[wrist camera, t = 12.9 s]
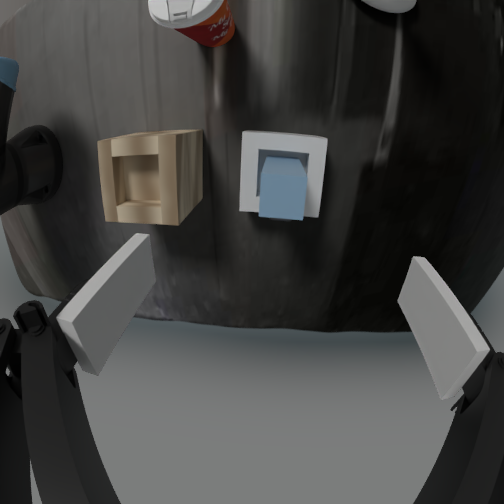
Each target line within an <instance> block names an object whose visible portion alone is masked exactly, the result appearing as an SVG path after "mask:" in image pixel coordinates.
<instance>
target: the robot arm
mask: <svg viewBox="0 0 504 504" xmlns="http://www.w3.org/2000/svg"><path fill="white" fill-rule="evenodd" d="M18 72H19V65H18V63H17V62H16V61H15V60H13V59H10V58H5V57H0V215H2V214H3V213H5V212H7V211H8V210H10V209H12V208H14V207H15V206H17V205H29V204H39V203H42V202H44V201H46V200H47V199H49V198H51V197H52V196H53V195H54V194H55V192H56V191H57V189H58V187H59V184H60V181H61V176H62V155H61V150H60V146H59V143H58V141H57V139H56V137H55V135H54V134H53V133H52V131H51V130H50V129H48V128H47V127H45V126H42V125H36V126H31V127H28V128H25V129H24V130H22V131H21V132H19V133H18V134H17V135H15V136H14V137H12V138H11V139H10V140H8V141H7V142H6V140H7V131H8V124H9V118H10V112H11V107H12V102H13V97H14V92H16V87H15V86H16V81H17V77H18ZM155 282H156V278H155V272H154V265H153V258H152V251H151V243H150V235H149V234H139V233H136V234H135V235H134V236H133V237H132V238H131V239H130V240H129V241H128V242H126V243H125V244H124V245H123V246H122V247H121V248H120V249H119V250H118V251H117V252H116V253H115V254H114V255H113V256H112V257H111V258H110V259H109V260H108V261H107V262H106V263H105V264H104V265H103V266H102V267H101V268H100V269H99V270H98V271H97V273H96V274H95V275H94V276H93V277H92V278H91V279H90V280H85V281H84V282H82V283H80V284H79V285H77V286H76V287H75V288H74V289H73V290H72V292H71V294H69V295H68V296H67V297H66V298H65V300H63V301H62V302H61V304H60V305H59V306H58V307H57V308H56V309H55V310H54V311H53V313H52V314H51V315H50V316H49V317H47V314H46V312H45V310H44V307H43V305H42V303H40V302H39V301H35V300H34V301H28V302H26V303H24V304H22V305H21V306H19V307H18V308H17V310H16V311H15V313H14V315H13V317H14V319H15V321H16V322H17V325H18V327H19V329H14V327H13V326H12V324H11V322H10V320H8V319H5V318H3V319H0V504H32V495H31V480H30V460H31V464H32V469H33V473H34V477H35V481H36V484H37V487H38V491H39V495H40V498H41V501H42V504H121V503H120V501H119V499H118V497H117V495H116V493H115V491H114V489H113V486H112V484H111V482H110V480H109V477H108V475H107V473H106V470H105V468H104V465H103V463H102V460H101V458H100V455H99V452H98V450H97V447H96V444H95V441H94V438H93V435H92V432H91V429H90V425H89V422H88V419H87V415H86V412H85V408H84V404H83V400H82V396H81V392H80V388H79V383H78V379H77V374H76V371H75V369H74V365H75V364H76V362H77V361H78V363H79V365H80V366H81V368H82V370H83V371H85V372H88V373H91V374H94V375H97V376H98V375H99V373H100V372H101V370H102V368H103V366H104V364H105V363H106V361H107V359H108V357H109V356H110V354H111V352H112V351H113V349H114V347H115V346H116V344H117V342H118V341H119V339H120V337H121V336H122V334H123V332H124V331H125V329H126V327H127V326H128V324H129V323H130V321H131V319H132V318H133V316H134V315H135V313H136V311H137V310H138V308H139V307H140V305H141V304H142V302H143V300H144V299H145V297H146V296H147V294H148V293H149V291H150V290H151V288H152V287H153V285H154V284H155ZM398 303H399V305H400V307H401V309H402V311H403V313H404V315H405V317H406V319H407V321H408V323H409V325H410V327H411V329H412V332H413V334H414V336H415V338H416V340H417V343H418V345H419V347H420V349H421V352H422V354H423V356H424V358H425V361H426V363H427V366H428V368H429V371H430V373H431V375H432V378H433V381H434V383H435V386H436V389H437V391H438V394H439V397H440V399H441V400H442V399H447V398H451V397H454V396H455V395H456V394H457V393H458V392H459V390H460V389H461V388H463V391H464V394H463V395H462V396H461V398H460V399H459V400H458V401H457V402H456V403H455V404H454V406H453V407H452V408H451V411H453V409H455V407H457V406H458V407H457V410H456V411H455V416H454V419H453V422H452V425H451V427H450V430H449V433H448V435H447V438H446V440H445V442H444V445H443V447H442V449H441V452H440V454H439V456H438V458H437V460H436V463H435V465H434V467H433V469H432V471H431V473H430V475H429V477H428V479H427V480H426V482H425V484H424V486H423V488H422V490H421V492H420V493H419V495H418V497H417V498H416V500H415V502H414V503H413V504H504V353H502V352H497V353H496V352H495V351H494V349H493V347H492V346H491V344H490V342H489V341H488V339H487V337H486V336H485V334H484V333H483V332H482V330H481V328H480V327H479V325H477V322H476V321H475V319H474V318H473V316H472V315H471V314H470V313H469V312H467V311H466V310H465V309H464V308H463V307H462V305H461V304H460V302H459V301H458V300H457V298H456V297H455V295H454V294H453V293H452V291H451V290H450V289H449V287H448V286H447V285H446V283H445V282H444V281H443V280H442V278H441V277H440V276H439V274H438V273H437V272H436V271H435V269H434V268H433V267H432V266H431V264H430V263H429V262H428V261H427V260H426V258H424V257H414V256H413V259H412V262H411V265H410V268H409V271H408V274H407V276H406V279H405V282H404V285H403V288H402V290H401V293H400V296H399V298H398ZM7 367H8V369H9V370H10V374H9V376H7V374H6V368H7Z"/></svg>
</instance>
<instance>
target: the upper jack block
mask: <svg viewBox="0 0 504 504" xmlns="http://www.w3.org/2000/svg"><path fill="white" fill-rule="evenodd" d="M98 158H99V171H100V181H101V190H102V199H103V206H104V213H105V220H106V221H109V222H128V223H146V224H163V225H180V223H181V222H182V221H183V220H184V219H185V218H186V216H187V215H188V214H189V213H190V212H191V211H192V210H193V209H194V207H195V206H196V205H197V204H198V203H199V202H200V201H201V200H202V198H203V130H170V131H153V132H139V133H134V134H128V135H123V136H119V137H114V138H109V139H105V140H101V141H98Z"/></svg>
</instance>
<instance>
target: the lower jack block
mask: <svg viewBox="0 0 504 504" xmlns="http://www.w3.org/2000/svg"><path fill="white" fill-rule="evenodd" d="M326 150H327V139H326V138H324V137H321V136H313V135H304V134H294V133H283V132H269V131H251V130H246V131H243V132H242V153H241V180H240V211H248V212H259V202H260V185H261V172H262V169H263V166H264V163H265V160H266V157H267V155H270V156H283V157H294V158H299V160H300V162H301V164H302V166H303V168H304V170H305V173H306V175H307V177H308V179H307V188H306V197H305V206H304V215H303V216H307V217H318V216H319V209H320V201H321V194H322V186H323V177H324V169H325V159H326Z"/></svg>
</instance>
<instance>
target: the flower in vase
mask: <svg viewBox="0 0 504 504" xmlns="http://www.w3.org/2000/svg"><path fill="white" fill-rule="evenodd" d="M362 1H363V2H365V3H367V4H368V5H370V6H372V7H374V8H377V9H379V10H382V11H385V12H390V13H403V12H407V11H409V10H410V9H412V8H413V7H414V5H415V3H416V0H362Z"/></svg>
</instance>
